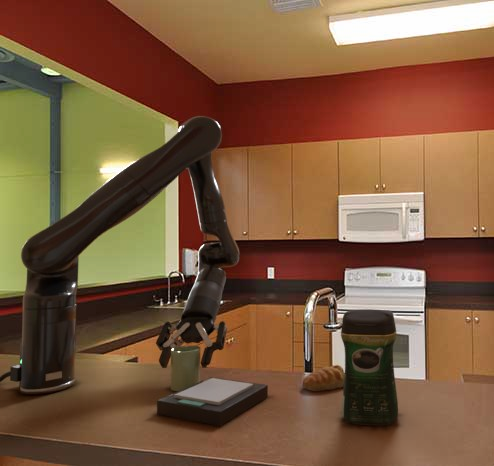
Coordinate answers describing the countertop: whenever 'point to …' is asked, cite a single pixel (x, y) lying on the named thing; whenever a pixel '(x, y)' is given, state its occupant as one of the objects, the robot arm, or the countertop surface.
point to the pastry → (325, 378)
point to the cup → (185, 367)
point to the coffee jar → (369, 367)
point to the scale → (212, 400)
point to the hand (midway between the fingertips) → (183, 366)
